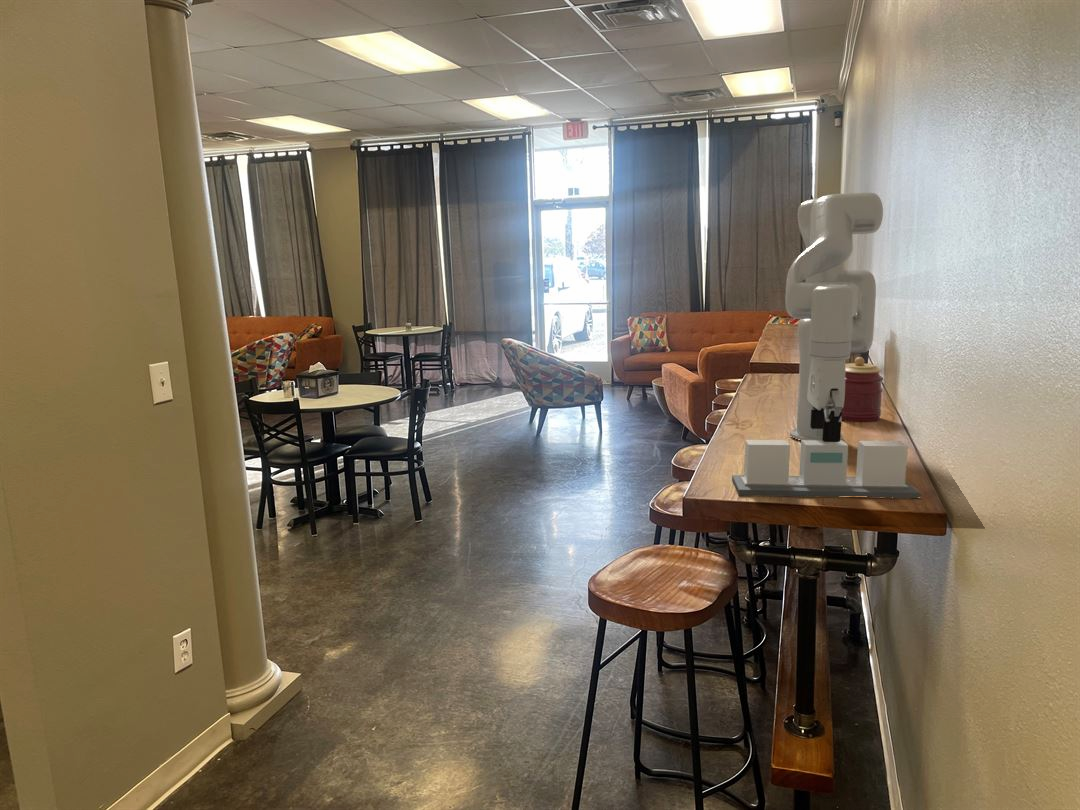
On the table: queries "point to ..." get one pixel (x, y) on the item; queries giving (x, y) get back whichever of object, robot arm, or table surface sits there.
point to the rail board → (822, 490)
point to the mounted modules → (873, 468)
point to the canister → (862, 392)
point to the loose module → (823, 462)
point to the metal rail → (798, 483)
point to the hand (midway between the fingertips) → (824, 434)
